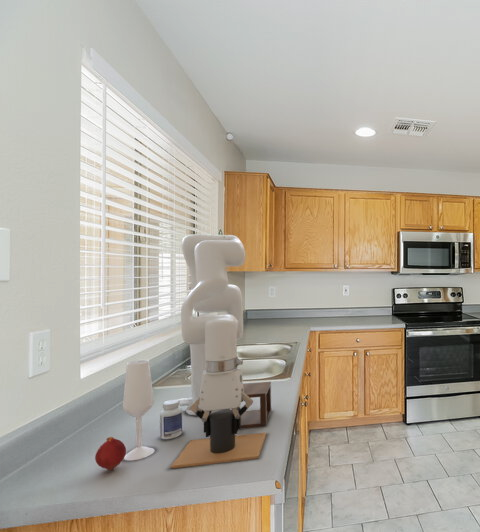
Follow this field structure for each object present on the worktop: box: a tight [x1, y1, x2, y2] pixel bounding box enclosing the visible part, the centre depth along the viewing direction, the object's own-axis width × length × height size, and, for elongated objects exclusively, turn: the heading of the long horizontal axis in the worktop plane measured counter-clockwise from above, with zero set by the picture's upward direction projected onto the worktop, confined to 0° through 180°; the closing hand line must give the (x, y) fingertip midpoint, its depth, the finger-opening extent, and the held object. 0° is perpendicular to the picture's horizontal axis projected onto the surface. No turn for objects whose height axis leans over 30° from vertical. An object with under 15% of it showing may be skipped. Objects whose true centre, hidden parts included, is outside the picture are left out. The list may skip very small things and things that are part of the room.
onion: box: [94, 436, 127, 471], centre depth 90 cm, size 6×6×8 cm
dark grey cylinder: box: [209, 409, 236, 453], centre depth 98 cm, size 6×6×9 cm
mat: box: [170, 432, 268, 469], centre depth 98 cm, size 20×14×1 cm
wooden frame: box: [225, 381, 272, 430], centre depth 118 cm, size 12×12×10 cm
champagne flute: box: [122, 359, 155, 462], centre depth 97 cm, size 7×7×24 cm
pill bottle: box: [159, 399, 183, 440], centre depth 108 cm, size 5×5×10 cm
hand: (222, 432), depth 98 cm, fingers closed on dark grey cylinder, 6 cm apart
